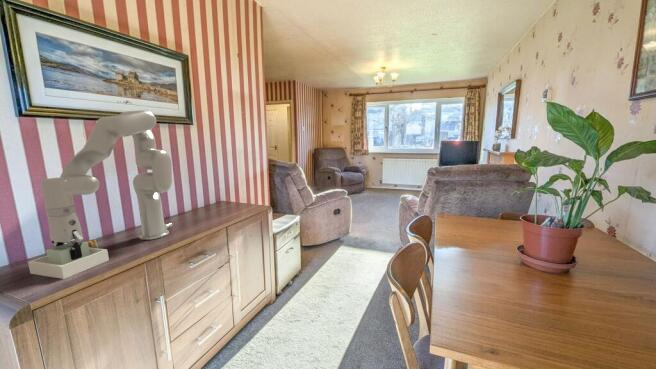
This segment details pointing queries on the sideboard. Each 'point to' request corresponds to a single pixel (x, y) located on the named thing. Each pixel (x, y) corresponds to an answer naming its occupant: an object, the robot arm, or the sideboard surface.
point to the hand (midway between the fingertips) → (69, 257)
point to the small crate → (65, 253)
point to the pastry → (92, 244)
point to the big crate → (67, 270)
